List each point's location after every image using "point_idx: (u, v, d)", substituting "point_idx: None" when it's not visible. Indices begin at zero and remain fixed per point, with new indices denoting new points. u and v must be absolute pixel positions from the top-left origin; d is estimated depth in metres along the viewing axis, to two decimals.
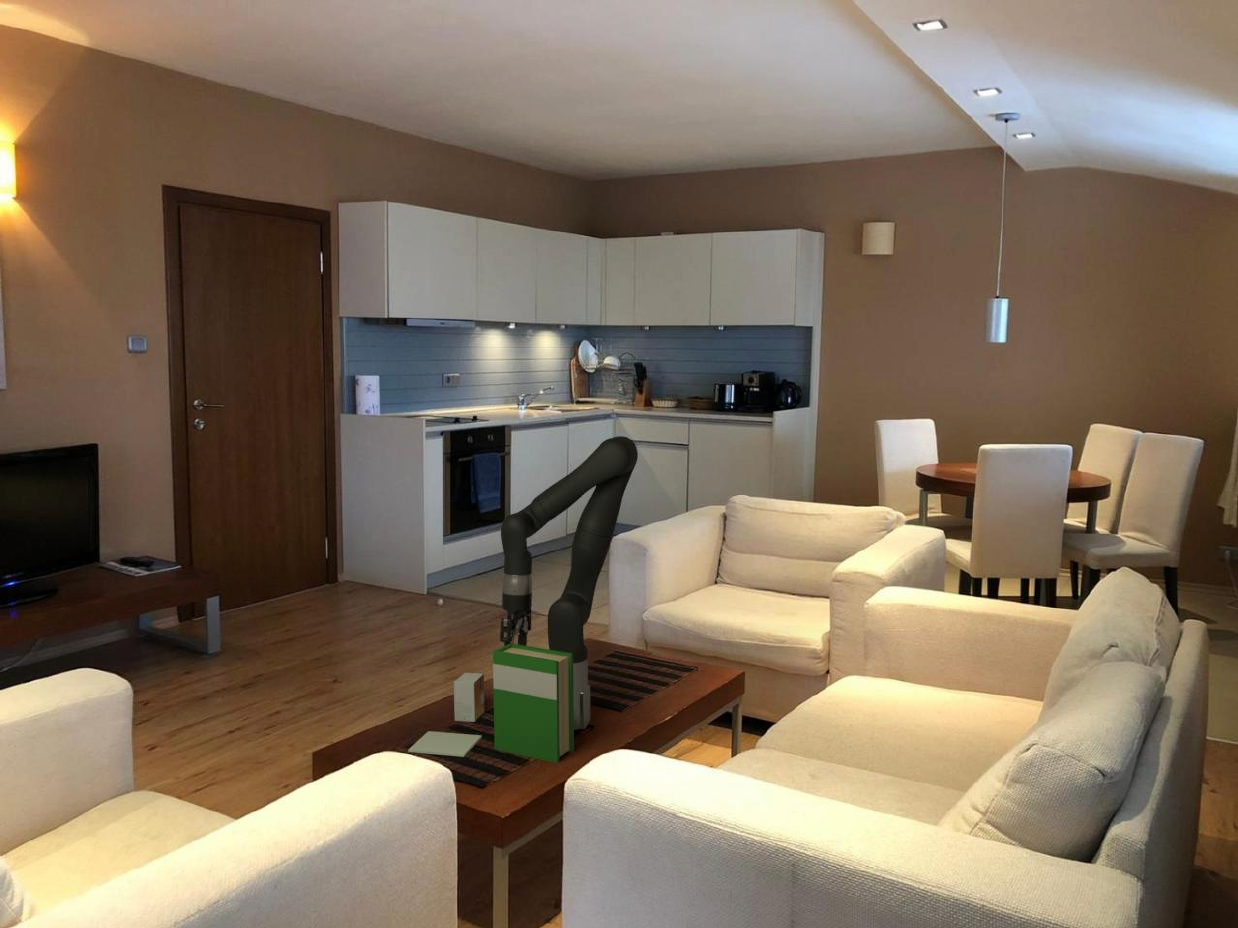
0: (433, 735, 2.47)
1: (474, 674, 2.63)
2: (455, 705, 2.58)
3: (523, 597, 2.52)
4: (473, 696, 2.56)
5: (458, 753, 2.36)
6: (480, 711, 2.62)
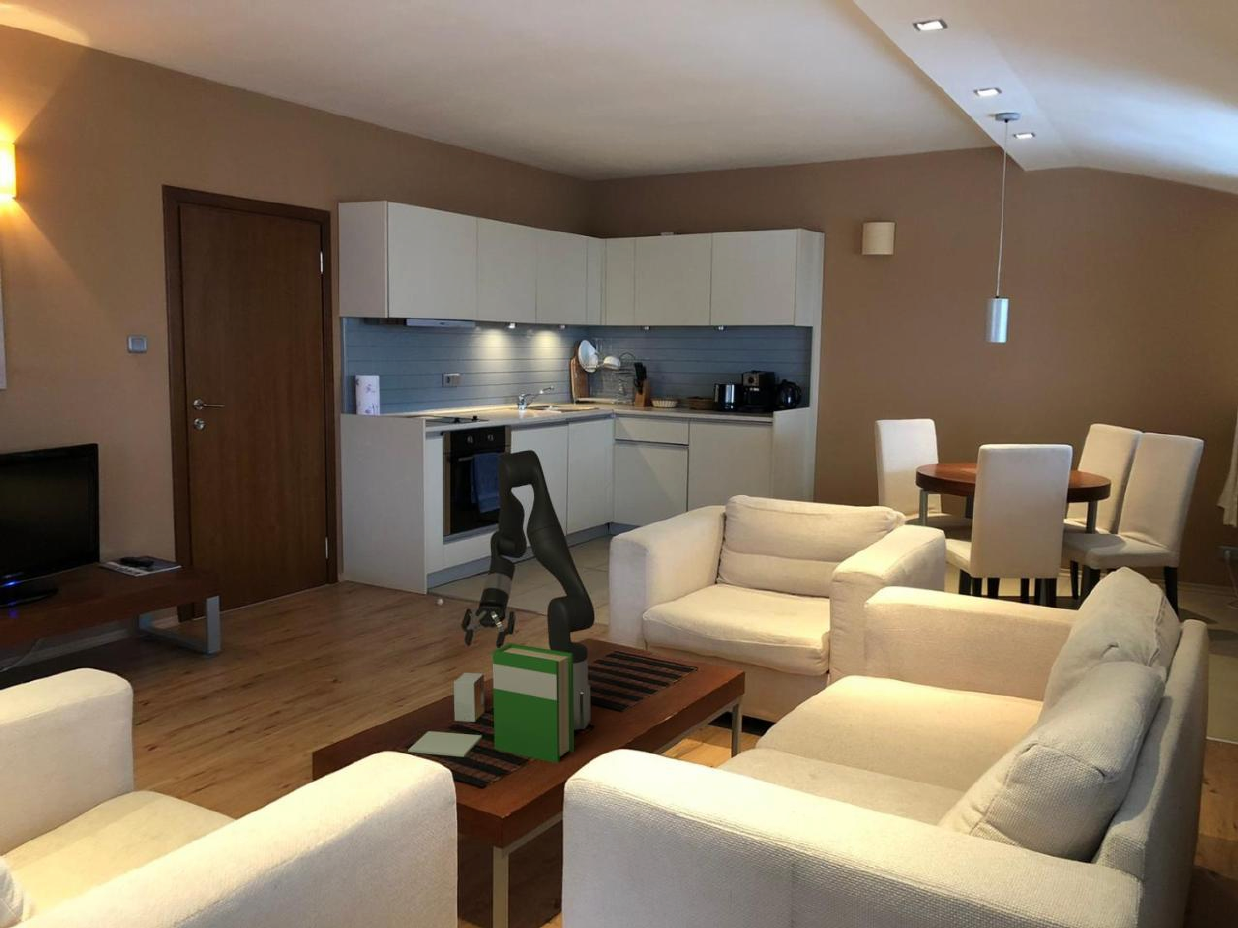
0: (433, 735, 2.47)
1: (474, 674, 2.63)
2: (455, 705, 2.58)
3: (484, 591, 2.78)
4: (473, 696, 2.56)
5: (458, 753, 2.36)
6: (480, 711, 2.62)
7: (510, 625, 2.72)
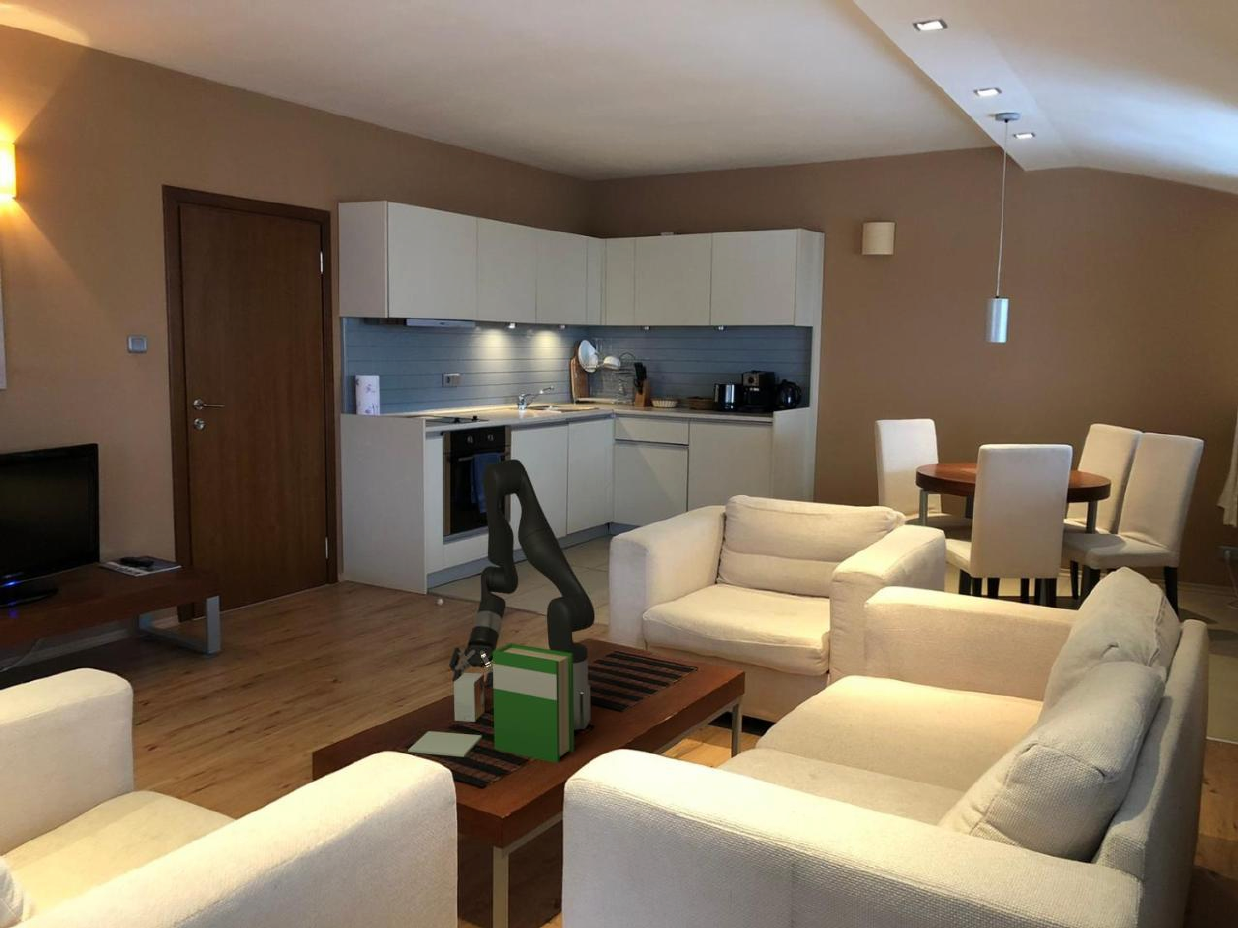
0: (433, 735, 2.47)
1: (474, 674, 2.63)
2: (455, 705, 2.58)
3: (473, 629, 2.70)
4: (473, 696, 2.56)
5: (458, 753, 2.36)
6: (480, 711, 2.62)
7: None
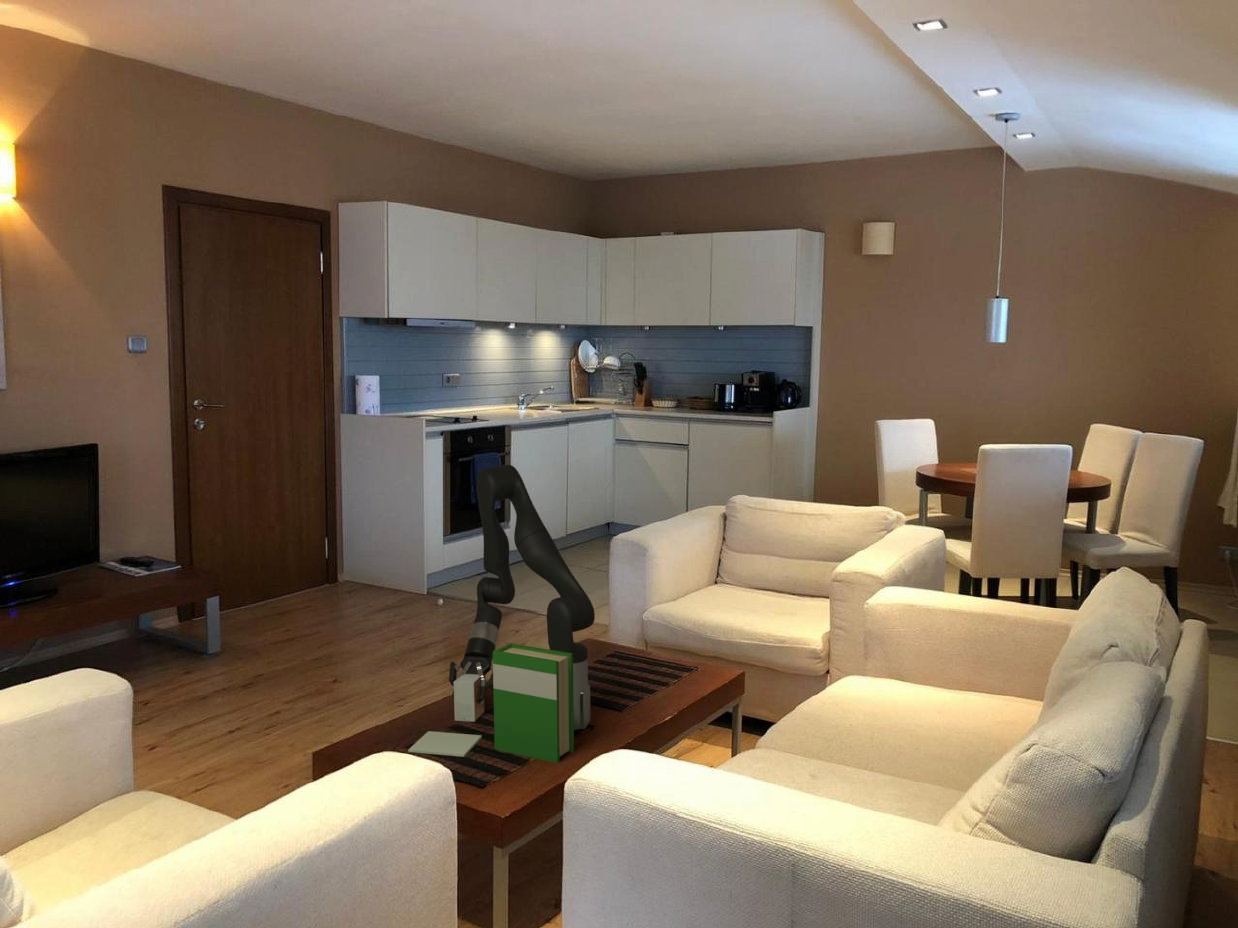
0: (433, 735, 2.47)
1: (474, 674, 2.63)
2: (455, 705, 2.58)
3: (469, 640, 2.67)
4: (473, 696, 2.56)
5: (458, 753, 2.36)
6: (480, 711, 2.61)
7: (492, 679, 2.60)
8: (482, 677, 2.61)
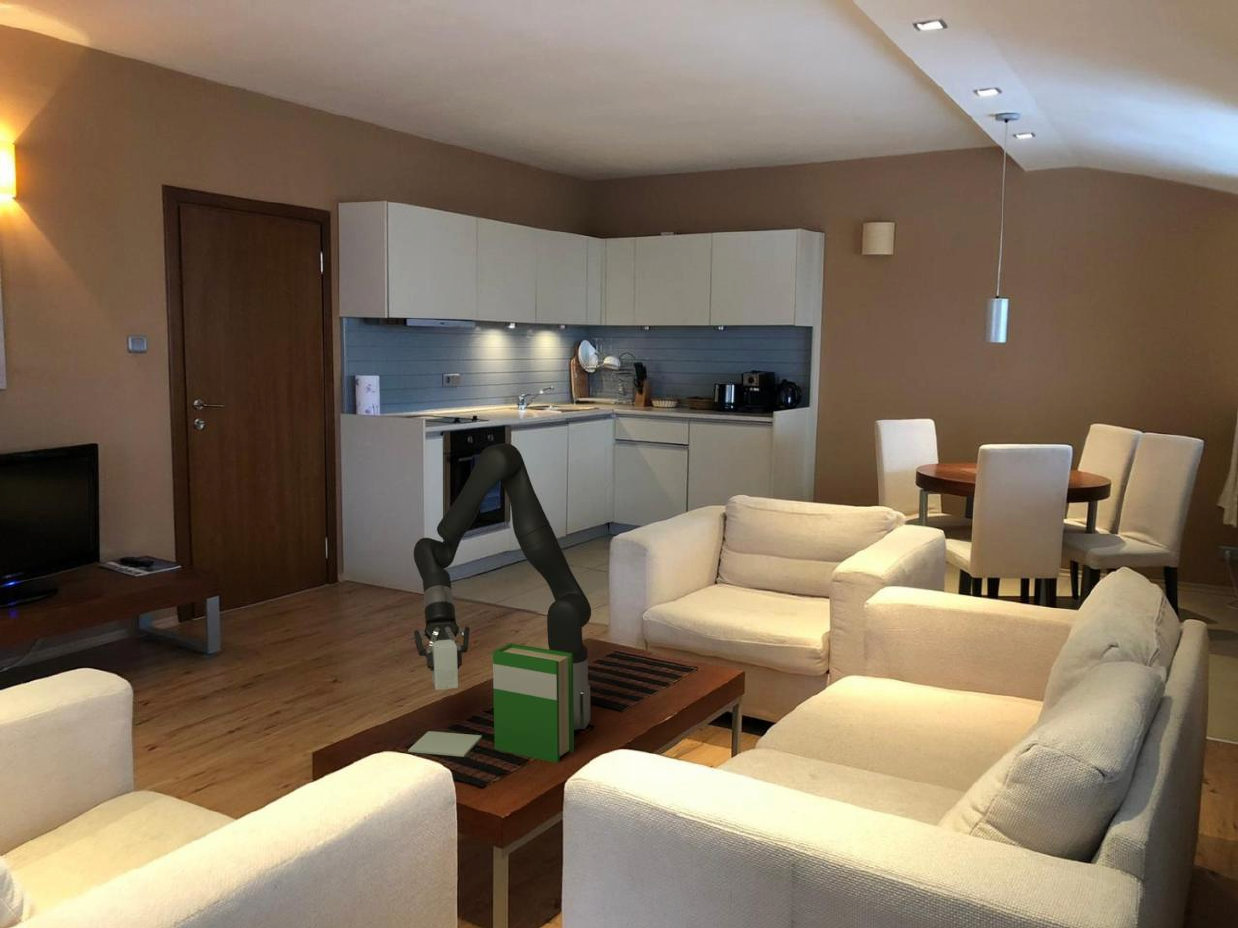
0: (433, 735, 2.47)
1: None
2: (436, 673, 2.41)
3: (430, 606, 2.50)
4: (456, 661, 2.42)
5: (458, 753, 2.36)
6: None
7: (467, 642, 2.48)
8: (456, 641, 2.47)
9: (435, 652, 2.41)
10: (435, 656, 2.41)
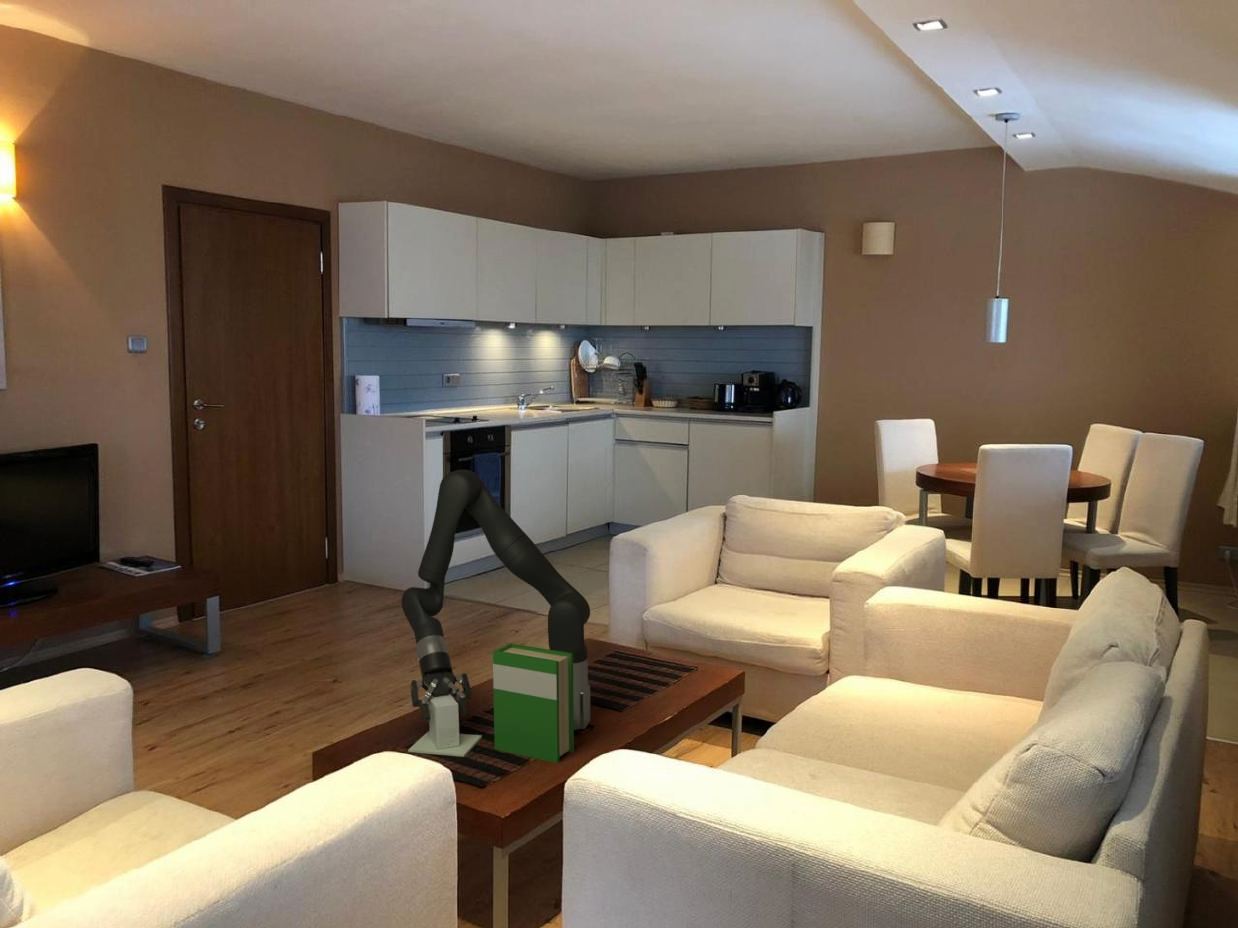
0: None
1: (443, 696, 2.44)
2: (438, 732, 2.38)
3: (426, 657, 2.46)
4: (457, 718, 2.39)
5: (458, 753, 2.36)
6: None
7: (469, 689, 2.46)
8: (458, 689, 2.45)
9: (437, 711, 2.37)
10: (437, 715, 2.37)
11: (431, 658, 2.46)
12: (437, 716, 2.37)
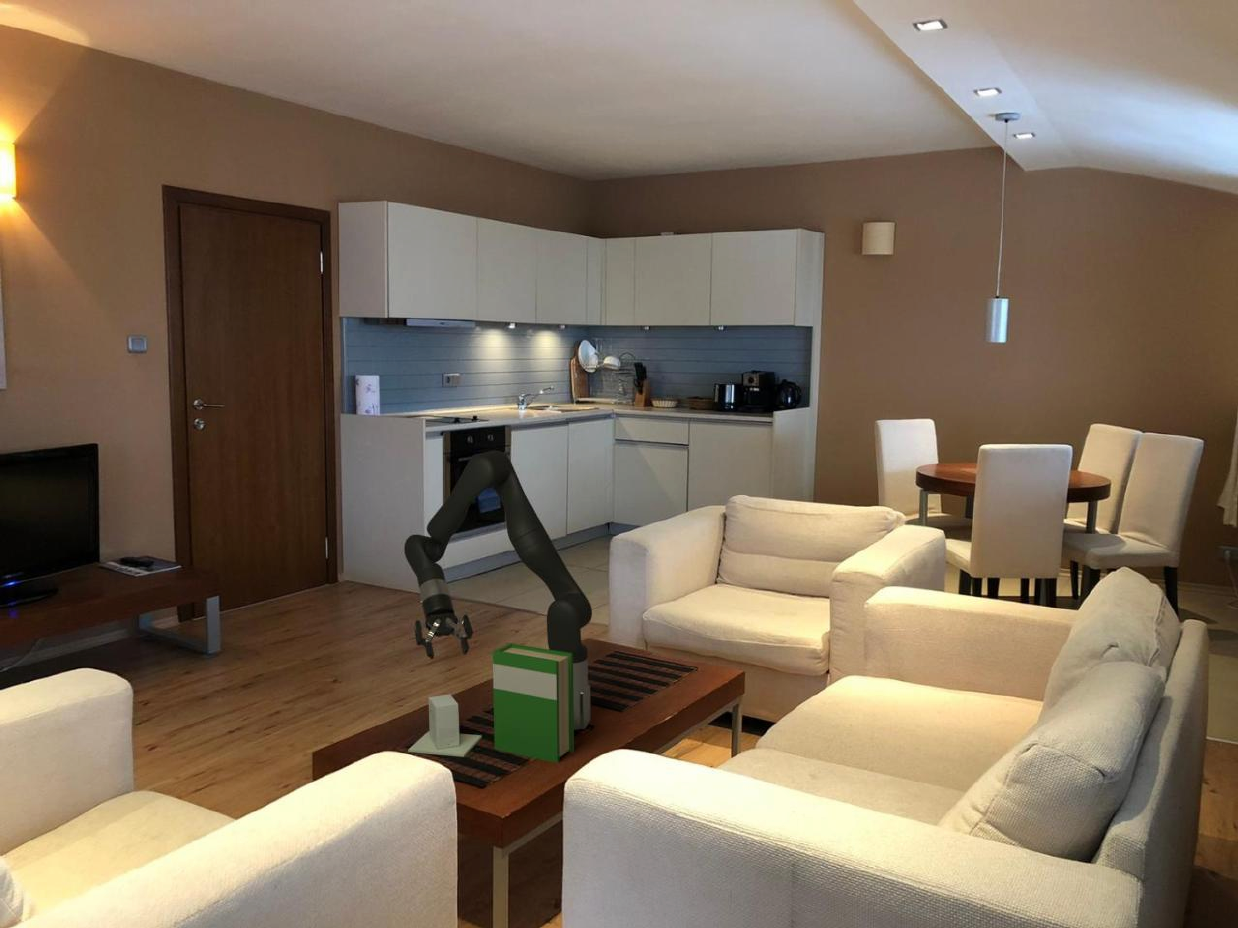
0: None
1: (443, 696, 2.44)
2: (438, 732, 2.38)
3: (429, 599, 2.58)
4: (457, 718, 2.39)
5: (458, 753, 2.36)
6: None
7: (470, 629, 2.57)
8: (459, 629, 2.56)
9: (437, 711, 2.37)
10: (437, 715, 2.37)
11: (434, 600, 2.57)
12: (437, 716, 2.37)
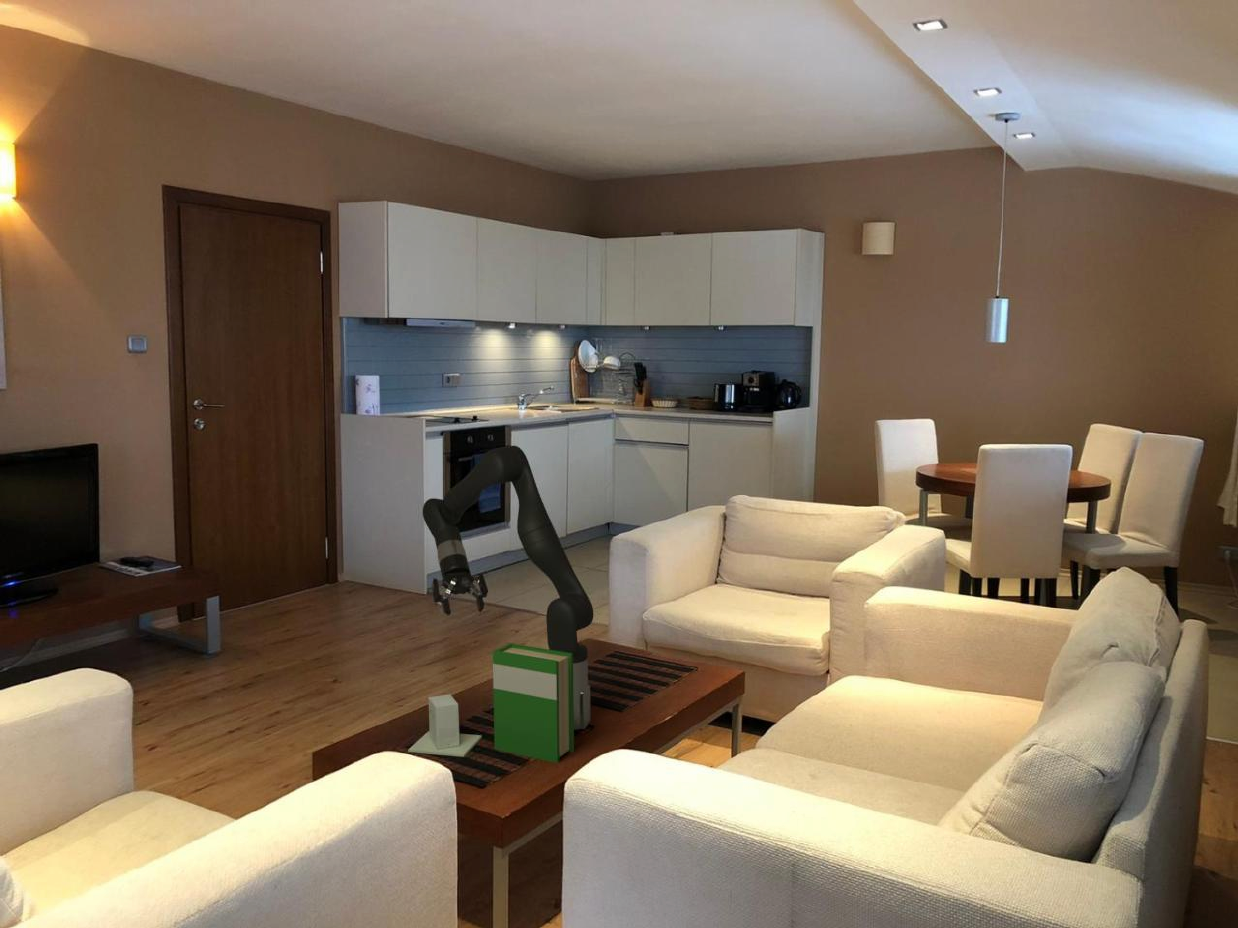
0: None
1: (443, 696, 2.44)
2: (438, 732, 2.38)
3: (446, 558, 2.68)
4: (457, 718, 2.39)
5: (458, 753, 2.36)
6: None
7: (486, 587, 2.68)
8: (475, 588, 2.67)
9: (437, 711, 2.37)
10: (437, 715, 2.37)
11: (451, 559, 2.68)
12: (437, 716, 2.37)
